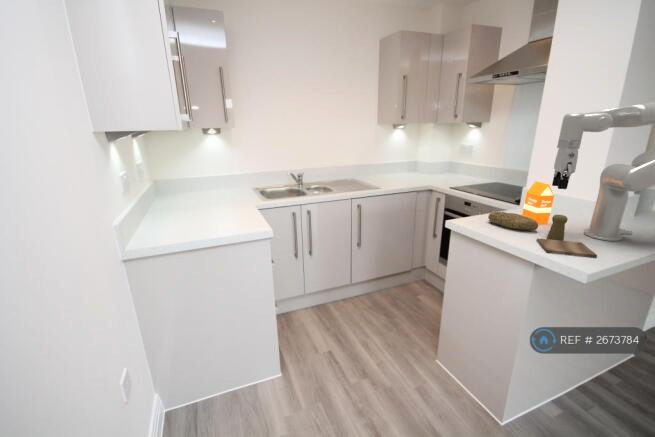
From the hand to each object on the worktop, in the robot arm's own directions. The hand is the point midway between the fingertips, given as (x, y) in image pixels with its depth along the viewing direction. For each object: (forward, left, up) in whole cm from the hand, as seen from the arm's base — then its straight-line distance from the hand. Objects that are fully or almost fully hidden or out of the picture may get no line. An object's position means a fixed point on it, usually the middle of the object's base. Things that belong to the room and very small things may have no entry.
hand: (559, 186), depth 133 cm
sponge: (+14, -5, -22) cm, 26 cm away
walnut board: (0, +19, -22) cm, 28 cm away
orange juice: (+1, -18, -22) cm, 28 cm away
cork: (0, +8, -22) cm, 23 cm away
